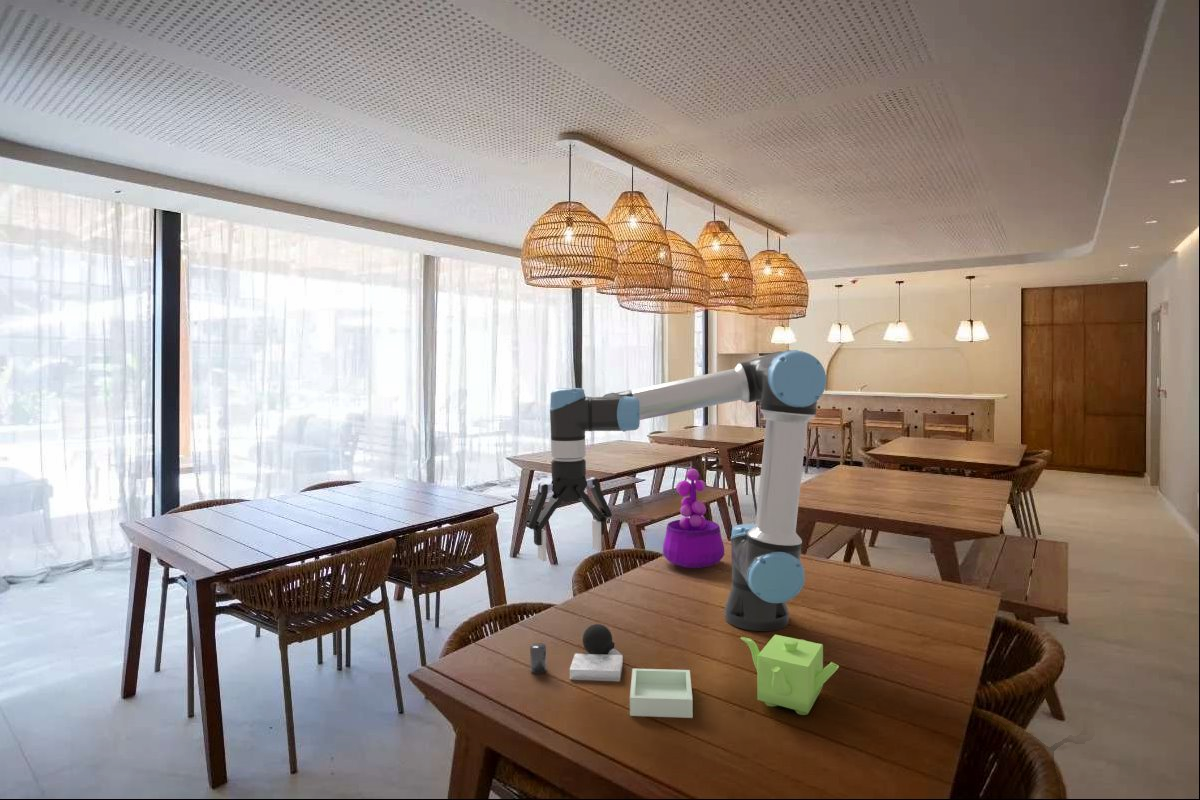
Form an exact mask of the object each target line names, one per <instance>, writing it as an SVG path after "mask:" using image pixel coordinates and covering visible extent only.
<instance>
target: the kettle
mask: <svg viewBox="0 0 1200 800" xmlns="http://www.w3.org/2000/svg"><path fill="white" fill-rule="evenodd" d="M740 639H741V640H742V641H743V642H744V643H745V644H746V645H747V647H749V649H750V653H751V657H752V661H753V665H754V667H755V669H756V673H757V678H756V681H757V682H756V683H757V685H756V686H757V687H756V688H757V689H756V690H757V693H756V694H757V695H756V696H757V698H756V699H757V701H761V702H764V704H765V705H766V706H767V707H772V708H774V707H778V706H779V707H782V708H786V709H790V710H794V711H795V713H796V714H798V715H800V716H806V715H808V714H809V713H810V711H811V709H813V708H812V707H813V706H814V705H815V702H816V700H817V698H818V696H819V695H820V693H821V692H822V689H823V687H824V684H825V683H826V682H827V681H828V680H829V679H830V678H831V677H832V676H833V674H835V672H836V671H837V670H838V669H839V667H840V665H839V664H836V663H835V662H833V661H831V662H830V663H829V664H827V665H826V666H825V667H824V645H823V643H816V642H813V641H808V640H805V639H799V638H794V637H789V636H783V635H778V634H774V635H773V636H772V637H771V639H769V641H768V642H767V644H766V645H765V646H764V647H763V648H762V649H761V651H760V650H759V647H758V645H757V643H756V642H755V640H753V639H751V638H749V637H744V636H743V637H740Z"/></svg>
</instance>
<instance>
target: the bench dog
mask: <svg viewBox="0 0 1200 800" xmlns="http://www.w3.org/2000/svg"><path fill="white" fill-rule="evenodd" d="M529 656H530V657H529V659H530V661H529V663H530V672H531V673H532V674H534V675H540V674H545V672H546V671H547V646H546V644H545V643H543V642H535V643H532V644H530V646H529Z"/></svg>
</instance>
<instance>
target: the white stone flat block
mask: <svg viewBox="0 0 1200 800" xmlns="http://www.w3.org/2000/svg"><path fill="white" fill-rule="evenodd" d="M623 655H624V654H621V655H603V654H590V653H574V655H573V658H572V661H571V664H570V666H569V680H572V681H576V680H577V681H601V682H603V681H604V682H621V678H622V671H623V665H624V662H623V661H624V660H623V659H624V657H623Z"/></svg>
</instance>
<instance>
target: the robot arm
mask: <svg viewBox="0 0 1200 800" xmlns="http://www.w3.org/2000/svg"><path fill="white" fill-rule="evenodd" d="M826 385H827V374H826V371H825V368H824V366H823V364H822V363H821V362H820V360H819V359H818V358H817V357H815V356H814V355H813V354H811V353H808V352H805V351H803V350H798V349H795V350H793V349H792V350H791V349H789V350H784V351H774V352H772V353H769V354H766V355H762V356H760V357H758V358H757V357H756V358H755V359H751V360H747V361H744V362H740V363H739V362H738V363H737V364H736V366H735V367H734V368H731V369H726V370H720V371H716V372H711V373H707V374H702V375H695V376H693V377H692V376H691V377H687V378H683V379H676V380H674V381H672V380H671V381H669V382H663V383H658V384H654V385H648V386H643V387H637V388H633V389H630V390H624V391H619V392H610V393H606V394H604V395H603V396H593V397H592V396H586V394H585V390H584V389H583V388H581V387H562V388H561V387H560V388H554V389H553V390H552V391H551V393H550V399H549V401H550V402H549V403H550V404H549V416H550V417H549V418H550V419H549V420H550V421H549V422H550V423H549V424H550V450H551V451H550V453H551V455H550V456H551V458H552V459H551V462H550V464H551V466H550V467H551V468H550V469H551V479H552V480H551V483H544V482H539V483H538V485H537V493H536V496H535V499H534V500H533V502H532V506H531V508H530V511H529V512H528V516H527V517H526V520H525V523H524V526H525V527H526V528H527V529H530V530H532V531H533V543H534V545H535V546H537V558H538V559H539V560H540V561H542V562H546V561H547V530H546V529H544V527H545V526H546V524H547V523H548V522H549V520H550V518H551V517H552V515H553V514H554V513H555V511H556V509H558V506H560V505H561V504H562V503H563V502H564V503H569V502H571V501H573V502H578V500H579V501H580V502H581V503H582V505H584V507H585V508H586V509H587V510H588V511H589V512H590V514H591V515H592V516H593V517H594V518H595V519H592V520H591V522H592V523H591V524H592V528H591V529H592V530H591V531H592V549H593V550H595V551H598V552H601V551H602V535H604V534H605V522H607V520H608V519H607V518H611V517H612V515H613V513H612V511H611V509H610V507H609V505H608V502H607V501H606V498H605V496H604V494H603V493H602V490H601V488H600V481H599V478H597V477H593V476H590V477H589V478H587V479H586V474H587V467H586V466H587V464H586V463H587V462H586V460H585V459H584V458H585V457H587V455H586V432H623V433H625V432H627V431H637V430H639V428H640V423H641V422H640V421H642V420H646V419H647V420H648V419H652V418H657V417H662V416H667V415H672V414H677V413H682V412H688V411H691V410H698V409H702V408H707V407H713V406H717V405H723V404H727V403H733V402H738V401H742V402H743V403H745V404H748V403H753V402H754V403H755V402H760V408H759V410H760V412H761V413H762V415H763V416H764V418H765V419H766V420H765V429H764V430H765V431H764V439H763V450H762V460H761V465H760V466H761V467H760V476H759V477H760V478H759V488H758V495H757V506H756V513H755V514H756V515H755V517H756V518H755V523H741V524H737V525H734V526H733V527H732V529H731V536H730V541H731V544H730V545H731V587H730V590H729V593H728V595H727V596H728V597H727V599H726V603H725V605H724V620H726V621H727V623H729V624H730V625H732V626H733V627H737V628H739V629H742V630H747V631H753V632H754V631H755V632H771V631H773V632H774V631H777V630H782V629H784V628H785V627H787V626H788V625H789V623H790V612H789V609H788V605H787V603H786V602H789V601H790V600H792V599H794V598H795V597H797V596H798V595H799V594H800V593H801V591H802V589H803V587H804V584H805V580H806V575H805V569H804V566H803V564H802V562H801V553H802V543H803V540H802V538H801V537H800V536H799V534H797V532H796V531H797V529H796V528H797V521H798V513H799V512H798V511H799V503H800V501H799V500H800V494H801V493H800V492H801V484H802V477H803V467H804V466H803V465H804V456H805V447H806V437H807V430H808V428H807V427H808V423H809V422H810V421H811V420H812V419H813V418H815V417H816V415H817V405H818V401H819V399H820V398H821V397H822V396H823V394H824V393H825V390H826ZM586 488H589V490H590V492H591V494H592V496H593V498H594V500H595V502H596V504H597V506H598V507H597V506H596V505H595V504H594V502H593V501H592V500H591V498H590V497H589V496H588V495H587V493H586V492H585V490H586ZM550 491H552V492H553V493H552V495H551V496H550V498H549V501H548V502H547V504H546V505H545V502H546V500H547V497H548V495H549V494H550ZM543 507H544V508H543Z"/></svg>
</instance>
